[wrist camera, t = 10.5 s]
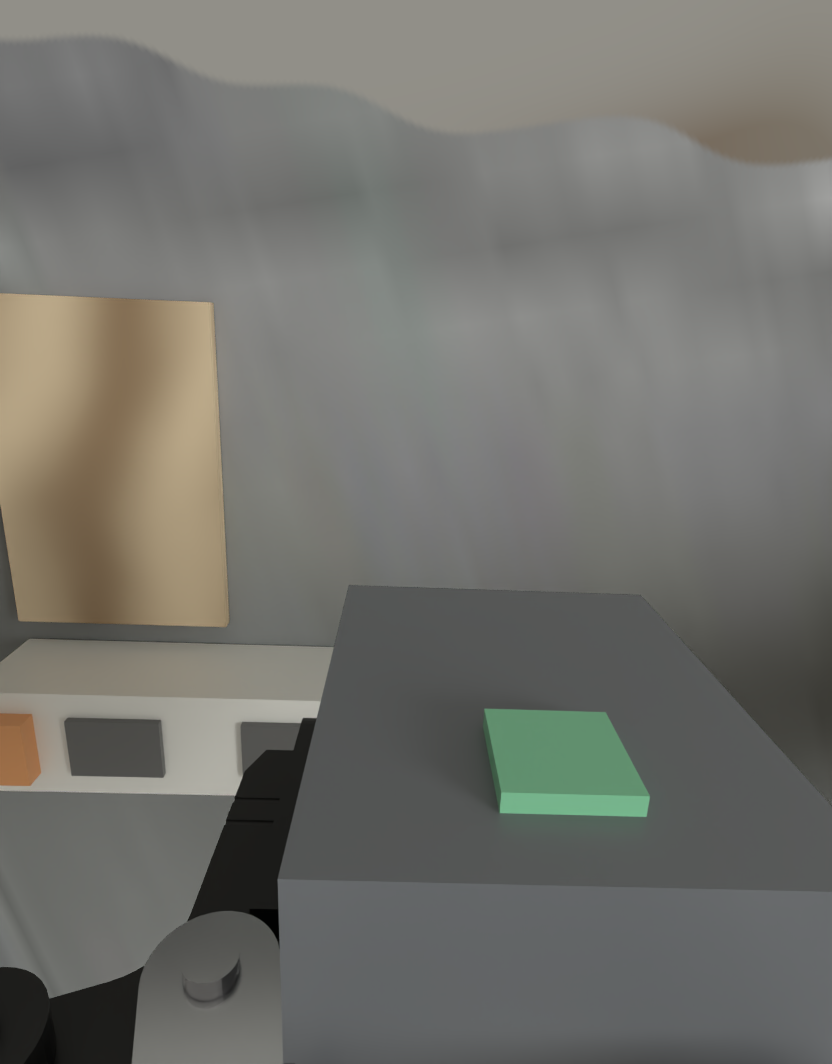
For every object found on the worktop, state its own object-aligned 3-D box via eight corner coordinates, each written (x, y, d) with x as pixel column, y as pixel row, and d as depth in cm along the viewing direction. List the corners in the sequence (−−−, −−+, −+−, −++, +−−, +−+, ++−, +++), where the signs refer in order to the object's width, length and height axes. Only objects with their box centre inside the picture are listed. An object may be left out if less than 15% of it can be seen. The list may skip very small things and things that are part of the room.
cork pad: (213, 303, 22) (209, 302, 21) (229, 621, 25) (226, 627, 25) (-24, 292, 22) (-33, 291, 21) (25, 615, 25) (18, 621, 25)
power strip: (717, 657, 26) (782, 723, 22) (700, 740, 27) (759, 819, 23) (29, 638, 25) (-51, 703, 21) (42, 725, 27) (-31, 804, 22)
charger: (642, 582, 10) (918, 871, 4) (583, 962, 12) (720, 1452, 7) (348, 572, 10) (277, 856, 4) (345, 957, 12) (294, 1450, 7)
